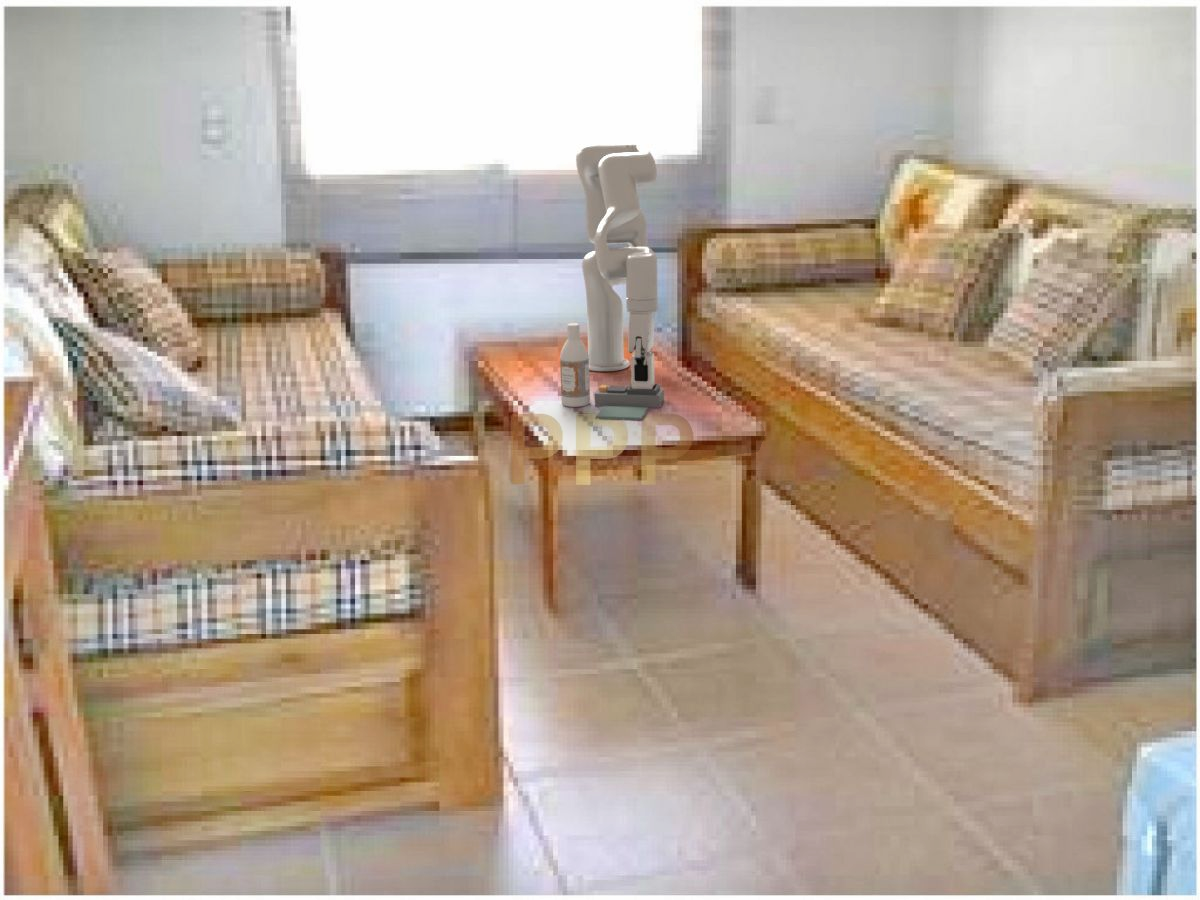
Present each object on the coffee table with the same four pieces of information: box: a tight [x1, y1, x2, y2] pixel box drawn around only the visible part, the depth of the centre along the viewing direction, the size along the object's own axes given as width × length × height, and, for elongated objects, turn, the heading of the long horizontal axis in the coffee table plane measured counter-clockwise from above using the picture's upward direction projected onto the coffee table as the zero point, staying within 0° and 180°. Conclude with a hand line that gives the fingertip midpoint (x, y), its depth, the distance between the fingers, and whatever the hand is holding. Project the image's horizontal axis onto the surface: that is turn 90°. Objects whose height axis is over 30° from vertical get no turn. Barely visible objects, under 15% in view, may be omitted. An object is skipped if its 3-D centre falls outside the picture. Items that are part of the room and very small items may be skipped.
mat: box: [595, 406, 649, 421], centre depth 330 cm, size 9×11×1 cm
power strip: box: [594, 383, 665, 409], centre depth 339 cm, size 7×16×4 cm, turn 78°
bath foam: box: [559, 322, 591, 408], centre depth 337 cm, size 7×7×20 cm
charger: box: [630, 350, 656, 389], centre depth 336 cm, size 4×5×10 cm
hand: (642, 377), depth 337 cm, fingers closed on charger, 4 cm apart
